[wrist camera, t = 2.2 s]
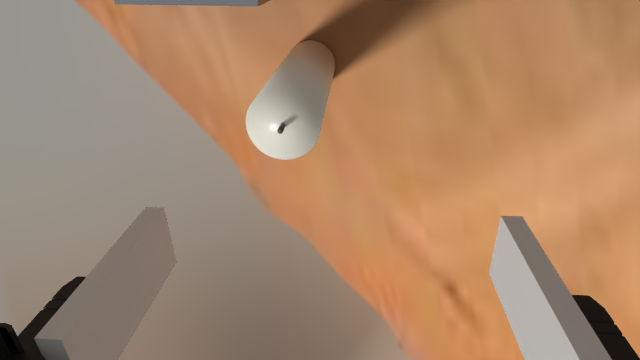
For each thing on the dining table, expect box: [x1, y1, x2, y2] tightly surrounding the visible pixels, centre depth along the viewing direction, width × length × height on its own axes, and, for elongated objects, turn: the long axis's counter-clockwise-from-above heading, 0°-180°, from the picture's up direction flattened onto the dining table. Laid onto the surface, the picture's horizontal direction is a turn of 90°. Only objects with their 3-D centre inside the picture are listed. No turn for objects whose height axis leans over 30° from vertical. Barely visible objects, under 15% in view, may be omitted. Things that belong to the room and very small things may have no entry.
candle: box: [246, 40, 335, 160], centre depth 28 cm, size 4×4×15 cm
